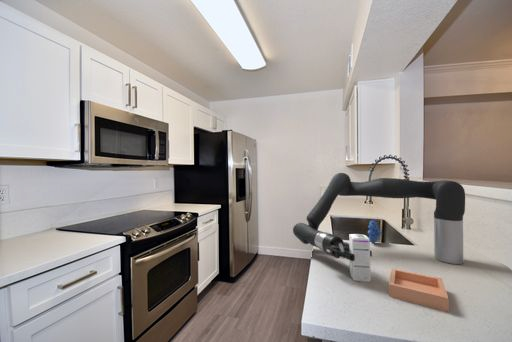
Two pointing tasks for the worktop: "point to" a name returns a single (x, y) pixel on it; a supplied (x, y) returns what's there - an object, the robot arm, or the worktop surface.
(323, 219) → the robot arm
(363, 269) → the syrup box
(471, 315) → the worktop surface
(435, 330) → the worktop surface
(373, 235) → the grapes
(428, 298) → the dish
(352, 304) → the worktop surface
